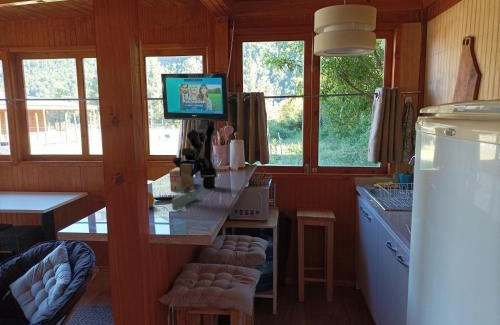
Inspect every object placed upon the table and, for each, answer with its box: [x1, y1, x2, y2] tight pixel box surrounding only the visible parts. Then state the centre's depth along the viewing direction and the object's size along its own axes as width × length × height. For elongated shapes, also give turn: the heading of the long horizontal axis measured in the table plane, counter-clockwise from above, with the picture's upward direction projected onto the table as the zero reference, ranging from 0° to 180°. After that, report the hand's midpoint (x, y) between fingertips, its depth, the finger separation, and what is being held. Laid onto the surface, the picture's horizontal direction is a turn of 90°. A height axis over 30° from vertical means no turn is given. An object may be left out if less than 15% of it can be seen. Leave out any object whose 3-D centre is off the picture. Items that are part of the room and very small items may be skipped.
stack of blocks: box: [168, 166, 190, 192], centre depth 223 cm, size 21×6×12 cm, turn 169°
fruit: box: [147, 190, 155, 209], centre depth 179 cm, size 12×12×10 cm
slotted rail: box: [171, 189, 197, 210], centre depth 184 cm, size 20×2×5 cm, turn 159°
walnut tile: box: [180, 164, 195, 190], centre depth 186 cm, size 2×6×12 cm, turn 69°
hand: (185, 176), depth 185 cm, fingers closed on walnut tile, 6 cm apart
